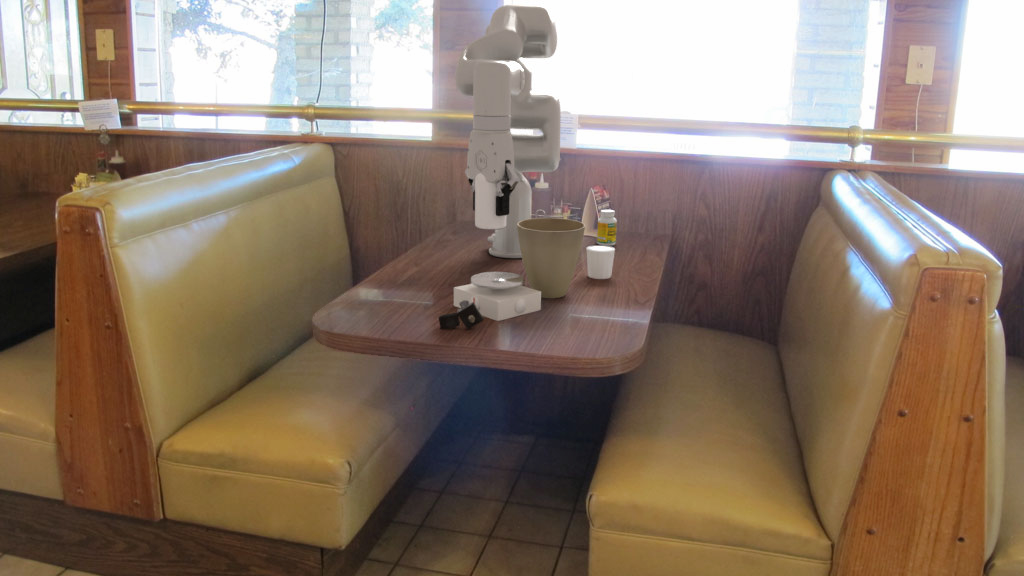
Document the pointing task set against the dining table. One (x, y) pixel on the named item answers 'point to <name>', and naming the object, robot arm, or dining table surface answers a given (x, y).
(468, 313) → the lighter
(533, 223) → the plant pot
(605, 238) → the supplement bottle
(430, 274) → the dining table surface
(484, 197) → the can
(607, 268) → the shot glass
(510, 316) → the scale housing
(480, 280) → the scale pan
